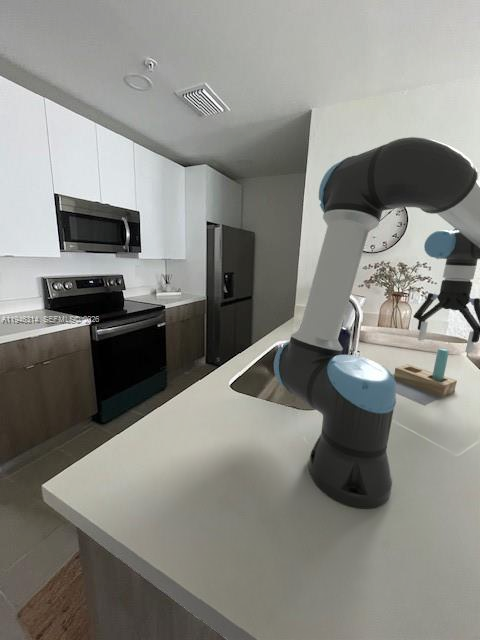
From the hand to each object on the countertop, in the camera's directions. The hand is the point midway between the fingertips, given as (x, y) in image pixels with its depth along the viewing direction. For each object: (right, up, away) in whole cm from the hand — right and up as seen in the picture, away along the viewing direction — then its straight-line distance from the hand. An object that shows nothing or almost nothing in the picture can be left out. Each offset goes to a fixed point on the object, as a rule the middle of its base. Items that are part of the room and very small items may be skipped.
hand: (443, 345), depth 88 cm
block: (-2, -14, +7) cm, 16 cm away
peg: (0, -15, +4) cm, 16 cm away
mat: (-7, -15, +5) cm, 17 cm away
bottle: (-33, -14, +9) cm, 37 cm away
